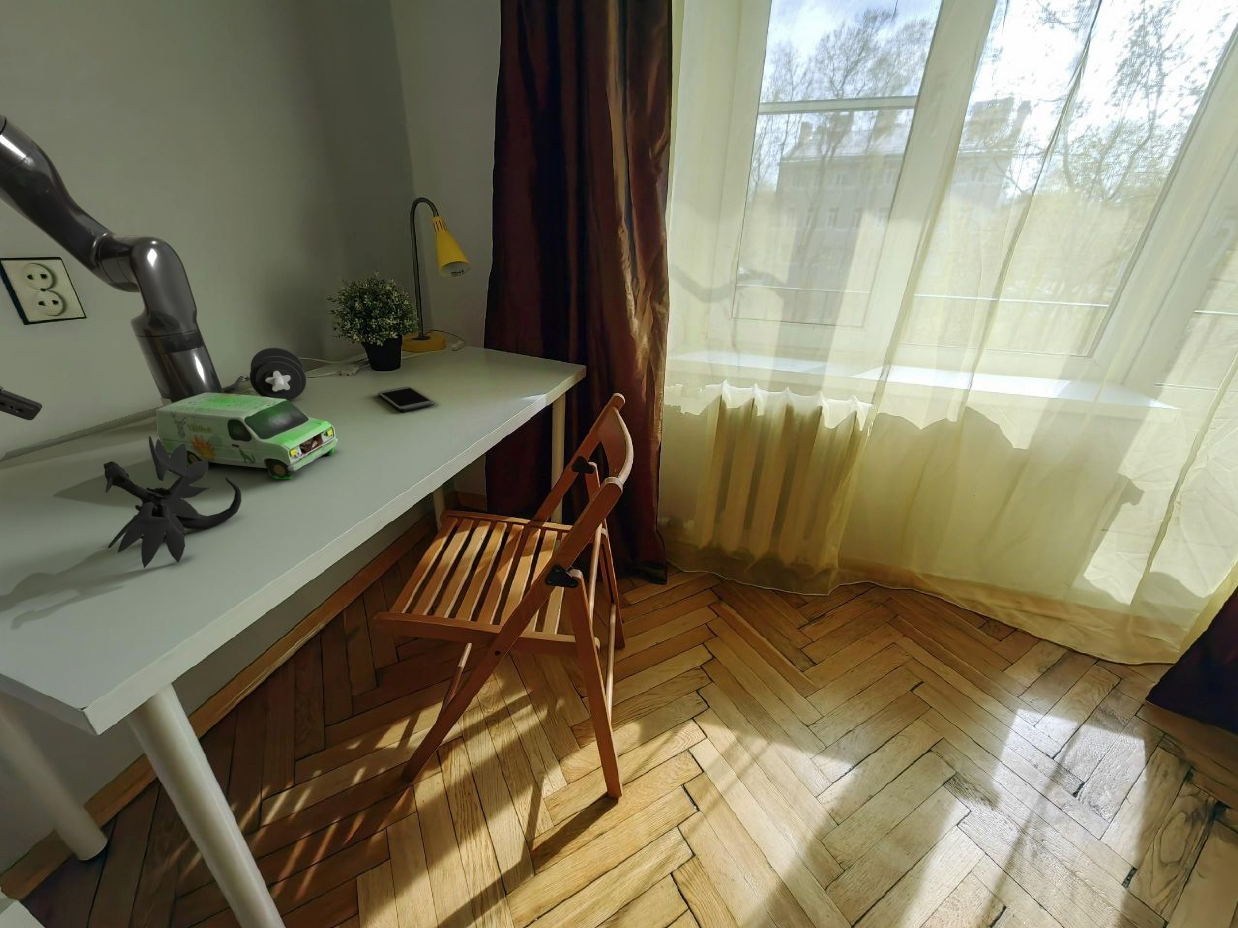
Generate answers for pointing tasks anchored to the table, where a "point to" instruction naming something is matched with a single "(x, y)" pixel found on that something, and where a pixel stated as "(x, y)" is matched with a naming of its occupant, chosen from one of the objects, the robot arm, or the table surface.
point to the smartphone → (405, 398)
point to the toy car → (245, 432)
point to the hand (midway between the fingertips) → (37, 413)
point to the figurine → (165, 504)
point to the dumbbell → (277, 374)
